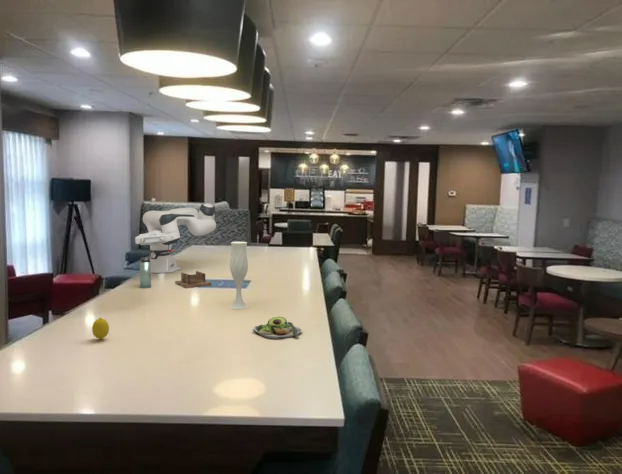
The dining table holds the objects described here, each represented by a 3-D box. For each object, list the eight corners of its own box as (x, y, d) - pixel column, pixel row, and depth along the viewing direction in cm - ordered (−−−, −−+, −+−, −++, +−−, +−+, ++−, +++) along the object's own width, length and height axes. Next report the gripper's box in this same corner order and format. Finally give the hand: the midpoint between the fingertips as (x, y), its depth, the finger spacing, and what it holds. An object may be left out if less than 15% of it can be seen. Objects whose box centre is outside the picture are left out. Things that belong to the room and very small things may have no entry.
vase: (250, 305, 237) (250, 241, 234) (246, 309, 229) (246, 243, 226) (231, 304, 238) (231, 241, 235) (227, 308, 230) (227, 243, 227)
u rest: (175, 283, 286) (175, 272, 285) (199, 281, 295) (199, 270, 294) (186, 288, 274) (185, 276, 273) (211, 285, 283) (211, 273, 282)
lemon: (111, 340, 181) (111, 318, 180) (96, 343, 177) (95, 320, 176) (105, 336, 185) (105, 315, 184) (90, 339, 181) (89, 317, 180)
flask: (145, 285, 278) (144, 257, 277) (153, 286, 276) (153, 257, 275) (138, 287, 273) (137, 258, 272) (146, 288, 271) (145, 259, 269)
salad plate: (314, 336, 191) (314, 324, 191) (274, 344, 181) (274, 331, 180) (285, 324, 207) (286, 313, 206) (247, 331, 196) (247, 319, 195)
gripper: (173, 241, 300) (171, 243, 286) (137, 245, 296) (134, 247, 282) (172, 231, 299) (170, 232, 286) (136, 234, 296) (132, 235, 282)
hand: (152, 239), depth 284 cm, fingers open, 8 cm apart
